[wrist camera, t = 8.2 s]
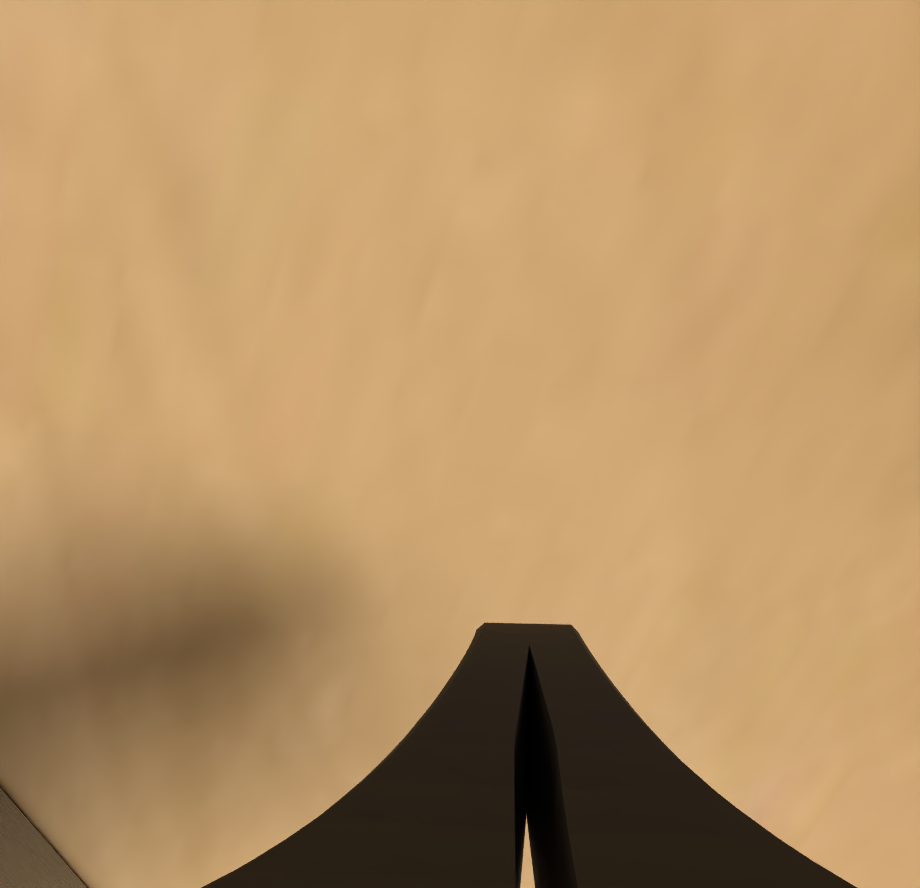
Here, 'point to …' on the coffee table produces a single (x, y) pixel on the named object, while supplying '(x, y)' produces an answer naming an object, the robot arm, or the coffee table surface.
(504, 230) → the coffee table surface
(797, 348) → the coffee table surface
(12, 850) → the bar
